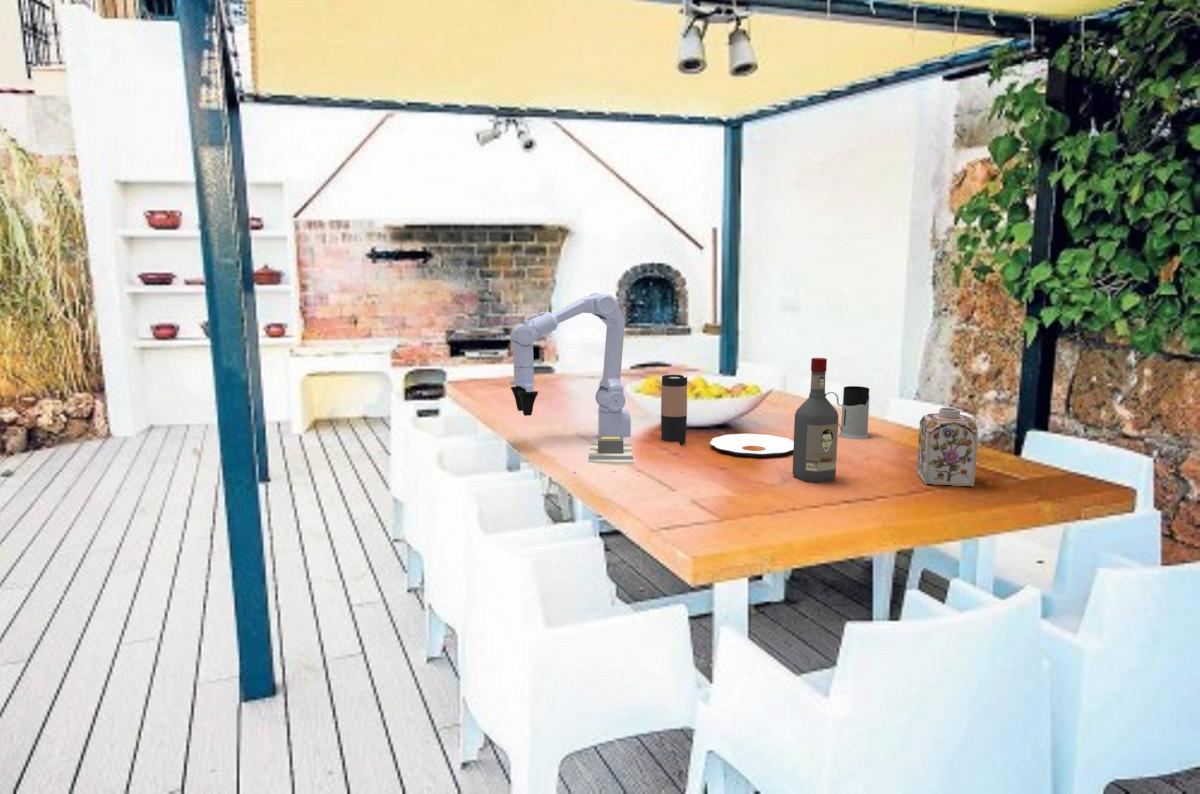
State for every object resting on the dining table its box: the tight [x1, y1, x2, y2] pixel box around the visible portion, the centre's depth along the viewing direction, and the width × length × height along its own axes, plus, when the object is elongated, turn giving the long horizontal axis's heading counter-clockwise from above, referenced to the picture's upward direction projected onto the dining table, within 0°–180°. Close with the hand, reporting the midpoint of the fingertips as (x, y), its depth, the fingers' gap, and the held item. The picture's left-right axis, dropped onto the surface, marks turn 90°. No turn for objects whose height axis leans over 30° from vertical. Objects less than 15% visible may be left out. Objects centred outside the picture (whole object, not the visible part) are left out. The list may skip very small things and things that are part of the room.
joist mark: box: [587, 455, 634, 460], centre depth 220 cm, size 4×12×1 cm, turn 90°
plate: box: [709, 433, 794, 457], centre depth 236 cm, size 25×25×2 cm
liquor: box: [792, 357, 840, 484], centre depth 203 cm, size 9×9×30 cm
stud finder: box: [597, 436, 625, 453], centre depth 227 cm, size 5×7×4 cm
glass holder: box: [825, 385, 870, 440], centre depth 252 cm, size 9×14×15 cm, turn 89°
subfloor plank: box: [587, 443, 635, 466], centre depth 225 cm, size 24×12×1 cm, turn 0°
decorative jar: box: [916, 407, 979, 487], centre depth 201 cm, size 12×12×18 cm
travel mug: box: [660, 374, 688, 446], centre depth 242 cm, size 8×8×20 cm
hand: (524, 412), depth 237 cm, fingers open, 7 cm apart
